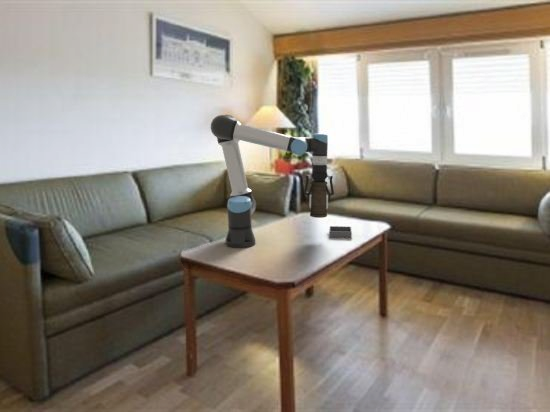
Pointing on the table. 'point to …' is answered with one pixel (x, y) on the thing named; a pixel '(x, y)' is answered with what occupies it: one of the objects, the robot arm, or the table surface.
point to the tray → (340, 232)
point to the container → (318, 199)
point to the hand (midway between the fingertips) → (318, 207)
